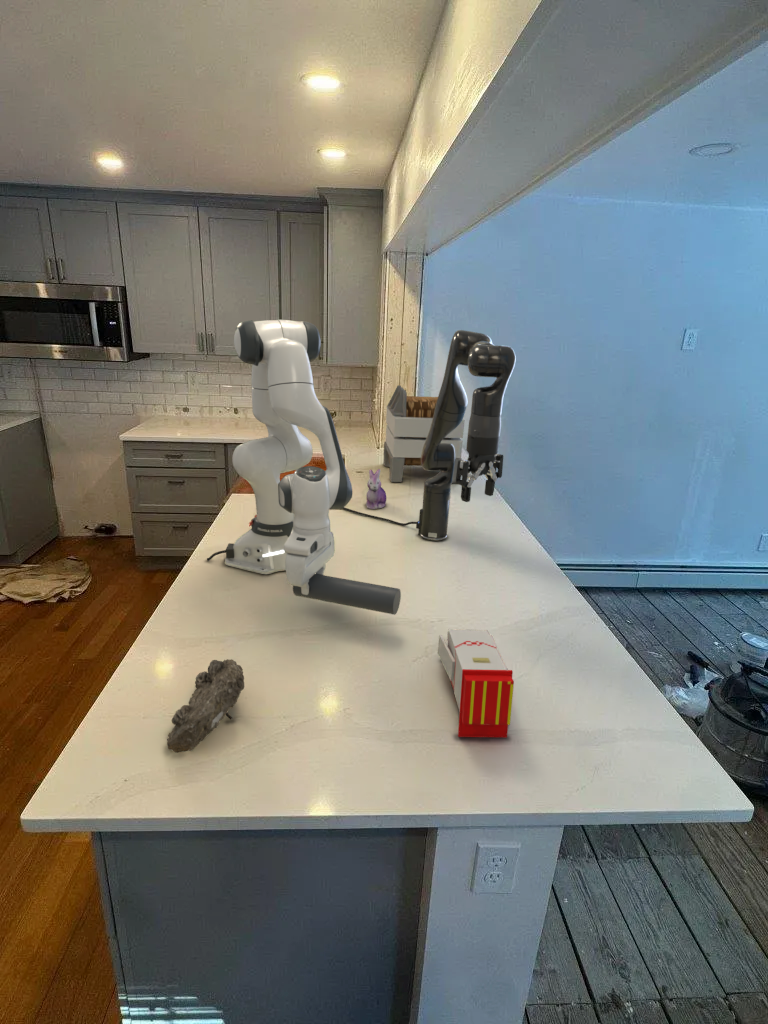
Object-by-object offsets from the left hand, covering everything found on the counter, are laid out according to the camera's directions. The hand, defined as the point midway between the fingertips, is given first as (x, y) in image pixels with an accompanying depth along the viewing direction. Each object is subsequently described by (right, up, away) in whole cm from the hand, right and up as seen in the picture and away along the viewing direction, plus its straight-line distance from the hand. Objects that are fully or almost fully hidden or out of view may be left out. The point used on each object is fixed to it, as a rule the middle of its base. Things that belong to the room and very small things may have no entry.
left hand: (312, 586), depth 140 cm
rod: (+8, -4, -2) cm, 9 cm away
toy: (+36, -19, -22) cm, 46 cm away
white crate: (+35, +37, +135) cm, 144 cm away
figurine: (+14, +21, +86) cm, 90 cm away
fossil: (-15, -21, -32) cm, 41 cm away
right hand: (+41, +22, -1) cm, 46 cm away
